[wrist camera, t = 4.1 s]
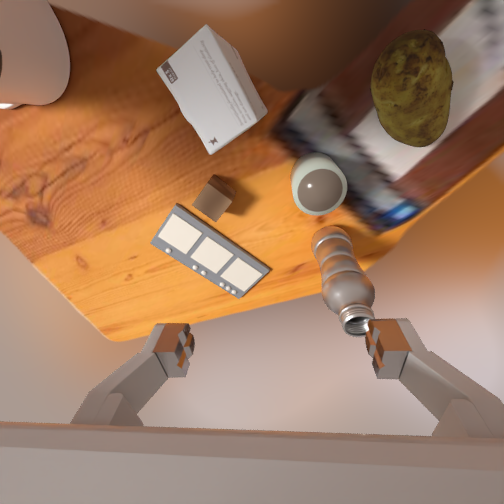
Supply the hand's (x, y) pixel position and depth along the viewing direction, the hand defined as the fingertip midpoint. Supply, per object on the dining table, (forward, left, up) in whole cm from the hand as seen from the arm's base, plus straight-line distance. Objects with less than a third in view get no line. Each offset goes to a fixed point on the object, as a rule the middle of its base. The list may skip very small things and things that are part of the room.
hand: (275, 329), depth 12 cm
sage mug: (+6, +2, -32) cm, 33 cm away
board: (+2, -21, -32) cm, 38 cm away
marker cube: (-4, -10, -32) cm, 34 cm away
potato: (+7, +16, -32) cm, 37 cm away
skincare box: (-10, +3, -32) cm, 34 cm away
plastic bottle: (+16, -4, -32) cm, 36 cm away
